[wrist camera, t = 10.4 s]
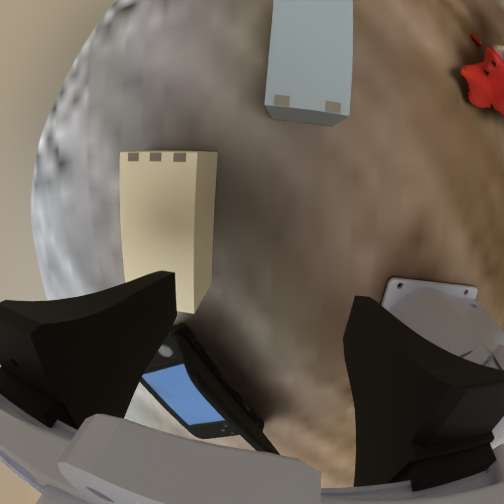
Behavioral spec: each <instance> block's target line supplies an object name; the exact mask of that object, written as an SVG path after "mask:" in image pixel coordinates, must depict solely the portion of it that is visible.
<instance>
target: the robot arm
mask: <svg viewBox="0 0 504 504" xmlns="http://www.w3.org/2000/svg"><path fill="white" fill-rule="evenodd" d="M399 283H402V284H401V286H399V287H397V285H398V284H399ZM465 290H466V292H465V293H464V291H465ZM477 292H478V289H477V288H476V287H474V286H467V285H458V284H448V283H439V282H430V281H421V280H412V279H403V278H391V279H390V280H389V281H388V283H387V287H386V290H385V294H384V297H383V300H382V304H381V305H380V304H379V303H378V302H376V301H375V300H374V299H372V298H370V297H365V296H355V298H354V302H353V305H352V309H351V313H350V316H349V320H348V323H347V326H346V330H345V333H344V336H343V343H344V356H345V362H346V367H347V372H348V376H349V381H350V386H351V390H352V395H353V400H354V407H355V420H356V464H355V478H354V487H348V488H321V472H320V471H318V470H316V469H315V468H313V467H311V466H310V465H308V464H306V463H304V462H303V461H301V460H299V459H297V458H292V457H287V456H282V455H277V454H273V453H268V452H260V451H253V450H245V449H239V448H233V447H227V446H222V445H217V444H212V443H207V442H202V441H198V440H194V439H189V438H185V437H181V436H178V435H174V434H170V433H167V432H163V431H160V430H157V429H153V428H150V427H147V426H144V425H141V424H138V423H135V422H132V421H129V420H127V419H124V417H125V414H126V412H127V409H128V407H129V404H130V402H131V399H132V397H133V395H134V392H135V390H136V388H137V386H138V384H139V381H140V379H141V377H142V376H143V374H144V372H145V370H146V369H147V367H148V366H149V364H150V362H151V361H152V359H153V358H154V356H155V355H156V353H157V352H158V350H159V348H160V347H161V345H162V344H163V342H164V341H165V339H166V337H167V336H168V334H169V332H170V330H171V328H172V326H173V323H174V321H175V319H176V316H177V305H176V282H175V272H169V271H163V270H161V271H157V272H153V273H150V274H147V275H145V276H142V277H139V278H137V279H134V280H132V281H129V282H126V283H124V284H121V285H118V286H115V287H112V288H109V289H106V290H103V291H100V292H96V293H92V294H88V295H84V296H79V297H73V298H66V299H60V300H50V301H12V300H5V301H2V302H0V365H1V367H0V460H1V461H2V462H3V463H4V464H5V465H7V466H8V467H9V468H10V469H11V470H12V471H13V472H15V473H16V474H17V475H18V476H19V477H21V478H22V479H23V480H24V481H26V482H27V483H28V484H29V485H31V486H32V487H33V488H35V489H36V490H37V491H39V492H40V493H41V494H42V495H41V497H40V498H39V500H38V502H37V503H36V504H504V330H503V329H502V328H501V327H500V326H499V324H498V323H497V322H496V321H495V320H494V319H493V318H492V317H491V316H490V315H489V313H488V312H487V311H486V310H485V309H484V308H483V307H482V306H481V305H480V304H479V303H478V302H477V301H476V300H475V298H476V295H477Z"/></svg>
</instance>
